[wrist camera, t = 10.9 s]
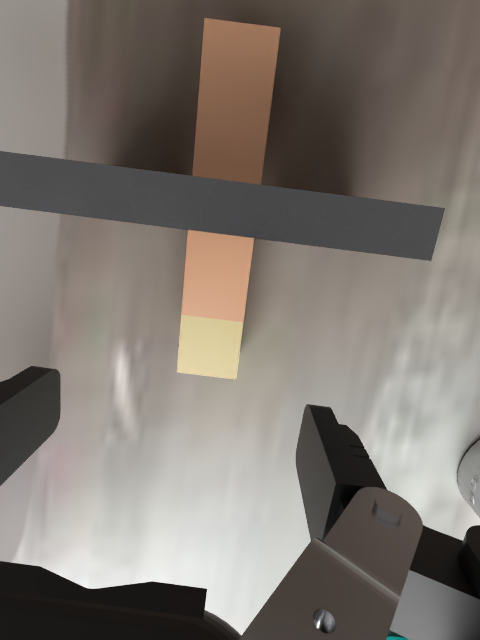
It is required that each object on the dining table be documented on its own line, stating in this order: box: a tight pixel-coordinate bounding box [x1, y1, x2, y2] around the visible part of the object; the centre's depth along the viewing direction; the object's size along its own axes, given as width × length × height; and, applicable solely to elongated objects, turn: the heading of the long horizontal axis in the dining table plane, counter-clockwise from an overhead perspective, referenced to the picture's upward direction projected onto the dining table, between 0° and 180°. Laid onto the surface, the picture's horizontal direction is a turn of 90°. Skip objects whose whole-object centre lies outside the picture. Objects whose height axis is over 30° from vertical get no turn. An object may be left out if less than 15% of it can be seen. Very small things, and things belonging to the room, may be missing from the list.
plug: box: [177, 18, 281, 379], centre depth 22 cm, size 4×20×5 cm, turn 173°
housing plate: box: [0, 151, 445, 261], centre depth 19 cm, size 18×2×12 cm, turn 83°
